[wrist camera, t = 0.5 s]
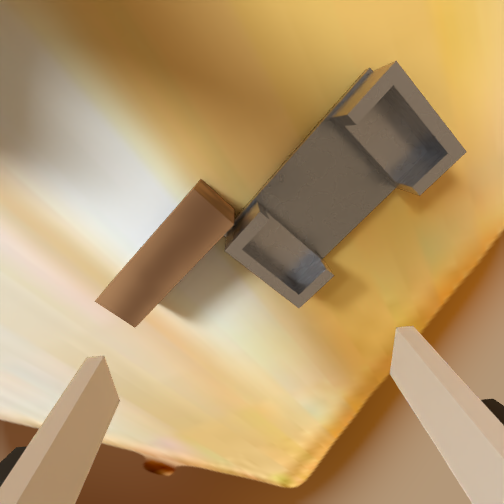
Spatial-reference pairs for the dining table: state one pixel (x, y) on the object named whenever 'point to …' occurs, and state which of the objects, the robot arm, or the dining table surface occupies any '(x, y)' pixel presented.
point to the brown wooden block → (168, 254)
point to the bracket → (341, 180)
